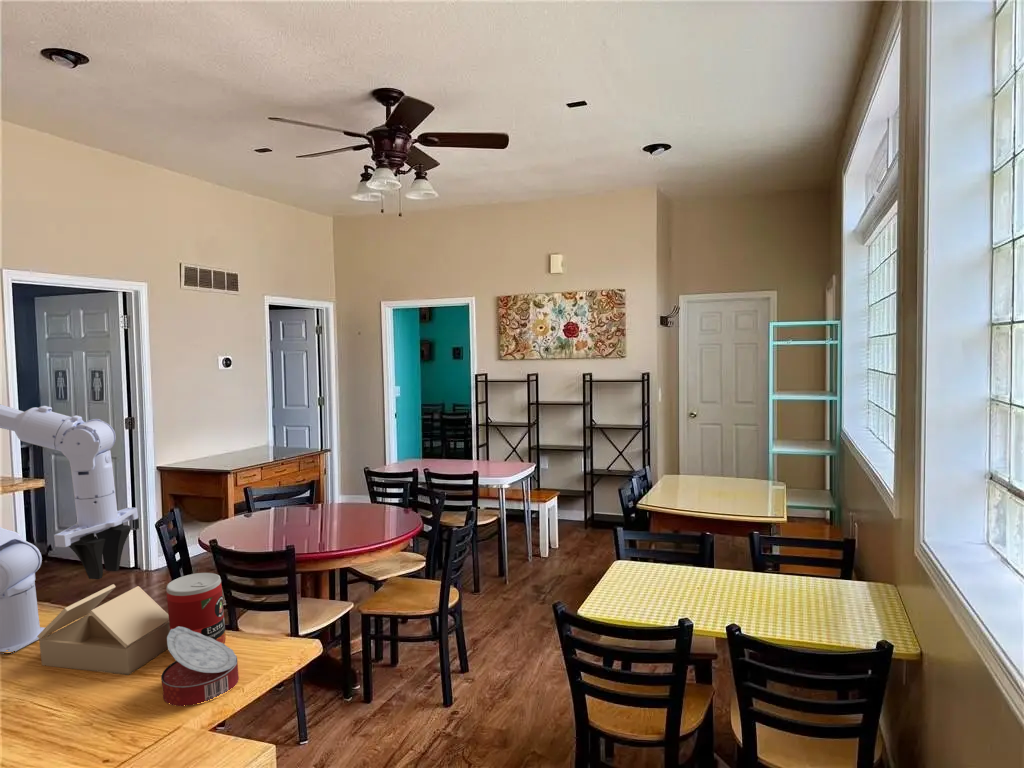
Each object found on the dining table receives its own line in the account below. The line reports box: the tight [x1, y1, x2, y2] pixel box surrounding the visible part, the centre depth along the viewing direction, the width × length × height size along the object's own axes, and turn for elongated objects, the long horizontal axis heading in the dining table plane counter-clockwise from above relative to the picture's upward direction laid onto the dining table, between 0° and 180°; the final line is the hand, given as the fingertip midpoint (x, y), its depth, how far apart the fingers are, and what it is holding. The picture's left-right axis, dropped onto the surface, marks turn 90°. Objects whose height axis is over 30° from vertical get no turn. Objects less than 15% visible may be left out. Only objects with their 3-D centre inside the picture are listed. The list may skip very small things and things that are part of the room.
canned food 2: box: [160, 626, 240, 707], centre depth 95 cm, size 11×10×10 cm
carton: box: [38, 613, 170, 676], centre depth 104 cm, size 16×9×4 cm, turn 76°
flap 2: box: [89, 585, 169, 648], centre depth 103 cm, size 8×9×1 cm
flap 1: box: [37, 583, 116, 640], centre depth 105 cm, size 8×9×1 cm
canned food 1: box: [165, 572, 227, 645], centre depth 105 cm, size 8×8×11 cm
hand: (104, 574), depth 111 cm, fingers open, 3 cm apart
